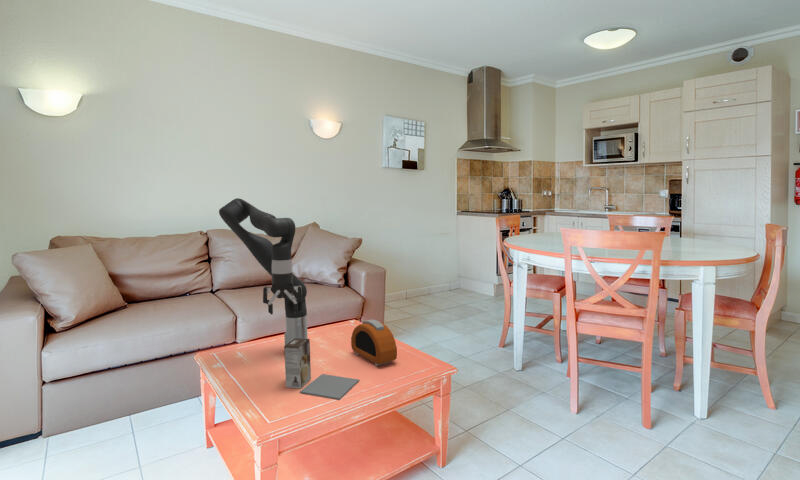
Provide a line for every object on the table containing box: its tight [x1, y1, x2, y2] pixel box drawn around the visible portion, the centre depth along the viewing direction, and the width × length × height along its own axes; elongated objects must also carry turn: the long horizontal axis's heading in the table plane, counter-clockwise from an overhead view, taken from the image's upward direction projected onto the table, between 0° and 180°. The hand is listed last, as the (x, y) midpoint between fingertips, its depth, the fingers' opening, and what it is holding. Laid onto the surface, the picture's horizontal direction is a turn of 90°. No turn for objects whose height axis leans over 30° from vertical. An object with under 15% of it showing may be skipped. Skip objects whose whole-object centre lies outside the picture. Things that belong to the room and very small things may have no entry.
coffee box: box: [283, 338, 312, 390], centre depth 164 cm, size 9×6×16 cm
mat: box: [299, 373, 360, 401], centre depth 161 cm, size 16×16×1 cm
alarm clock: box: [350, 319, 398, 367], centre depth 188 cm, size 23×9×17 cm, turn 37°
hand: (283, 313), depth 165 cm, fingers open, 8 cm apart
